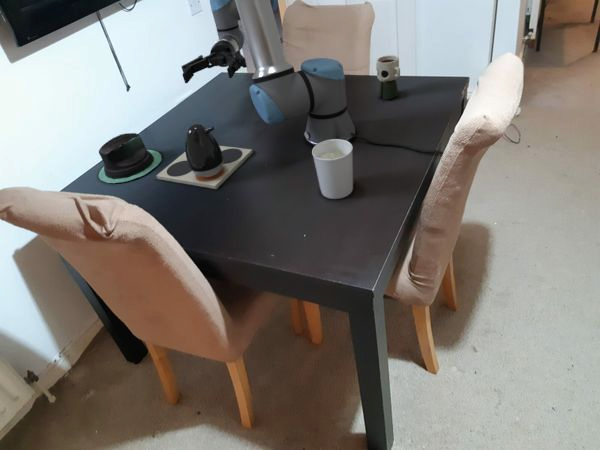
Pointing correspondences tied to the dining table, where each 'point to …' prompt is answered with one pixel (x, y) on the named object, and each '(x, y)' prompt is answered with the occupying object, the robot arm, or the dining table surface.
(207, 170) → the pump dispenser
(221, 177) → the hob plate
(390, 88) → the character mug
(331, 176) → the candle holder
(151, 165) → the black green hat
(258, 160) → the dining table surface
